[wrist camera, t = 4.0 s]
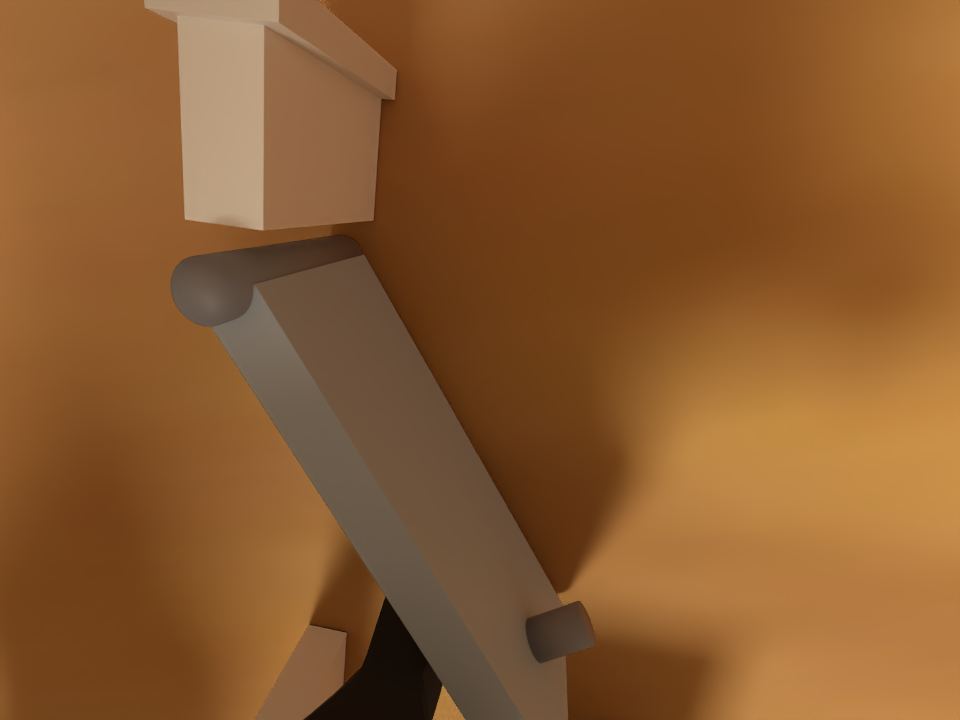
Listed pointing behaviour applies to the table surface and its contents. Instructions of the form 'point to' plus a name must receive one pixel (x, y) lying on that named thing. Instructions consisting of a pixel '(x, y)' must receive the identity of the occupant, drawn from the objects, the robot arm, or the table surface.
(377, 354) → the door
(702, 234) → the table surface
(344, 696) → the robot arm
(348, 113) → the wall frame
